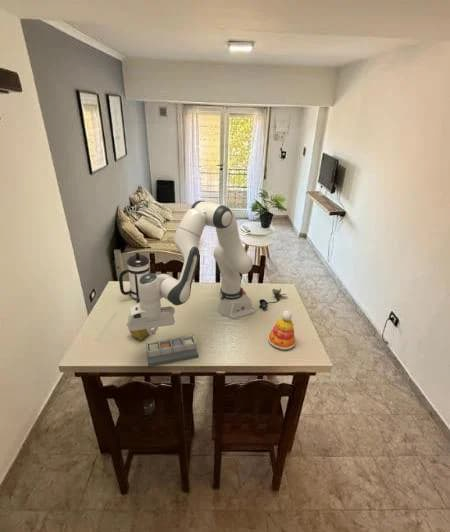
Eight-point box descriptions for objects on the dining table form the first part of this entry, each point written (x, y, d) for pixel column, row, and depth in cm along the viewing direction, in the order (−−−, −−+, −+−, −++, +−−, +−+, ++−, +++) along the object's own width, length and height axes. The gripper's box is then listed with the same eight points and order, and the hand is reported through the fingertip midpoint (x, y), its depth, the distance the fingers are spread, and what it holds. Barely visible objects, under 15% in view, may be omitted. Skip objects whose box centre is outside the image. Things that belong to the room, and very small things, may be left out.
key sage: (158, 349, 147) (157, 343, 145) (159, 355, 143) (158, 349, 142) (149, 350, 145) (149, 345, 144) (150, 356, 142) (149, 350, 140)
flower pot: (140, 344, 152) (138, 329, 148) (128, 337, 156) (126, 323, 152) (153, 334, 158) (151, 320, 154) (140, 328, 162) (139, 314, 158)
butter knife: (93, 339, 153) (99, 340, 153) (114, 312, 174) (119, 312, 174) (93, 340, 153) (99, 341, 153) (114, 312, 174) (119, 313, 174)
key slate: (180, 345, 150) (180, 339, 148) (182, 350, 146) (182, 345, 145) (172, 346, 149) (172, 341, 147) (173, 352, 145) (173, 346, 144)
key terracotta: (169, 348, 149) (169, 343, 147) (170, 354, 145) (170, 348, 144) (161, 350, 147) (160, 344, 146) (162, 355, 144) (161, 350, 142)
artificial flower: (255, 308, 186) (254, 292, 184) (278, 299, 201) (278, 285, 199) (266, 311, 180) (265, 295, 178) (289, 302, 194) (289, 287, 192)
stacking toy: (262, 342, 157) (266, 310, 148) (277, 329, 167) (281, 299, 158) (285, 355, 149) (291, 323, 140) (300, 341, 158) (306, 310, 150)
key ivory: (191, 344, 152) (191, 339, 150) (193, 350, 148) (193, 344, 147) (183, 346, 151) (183, 340, 149) (185, 351, 147) (185, 345, 146)
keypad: (192, 338, 157) (191, 330, 154) (198, 357, 145) (198, 348, 142) (146, 346, 150) (145, 337, 147) (148, 367, 138) (147, 358, 136)
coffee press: (133, 288, 197) (128, 246, 184) (157, 291, 196) (154, 248, 182) (121, 303, 182) (115, 258, 168) (147, 306, 180) (143, 261, 167)
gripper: (173, 301, 139) (174, 326, 145) (126, 308, 133) (129, 333, 139) (175, 309, 133) (176, 334, 140) (126, 316, 127) (129, 342, 134)
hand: (152, 334), depth 139 cm, fingers closed
